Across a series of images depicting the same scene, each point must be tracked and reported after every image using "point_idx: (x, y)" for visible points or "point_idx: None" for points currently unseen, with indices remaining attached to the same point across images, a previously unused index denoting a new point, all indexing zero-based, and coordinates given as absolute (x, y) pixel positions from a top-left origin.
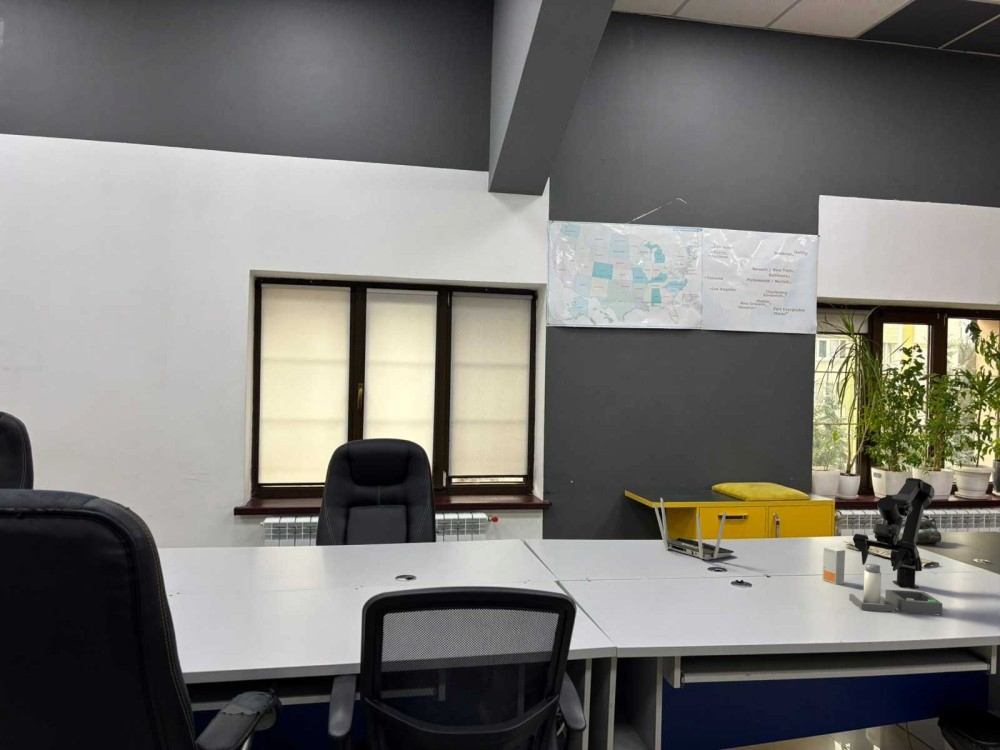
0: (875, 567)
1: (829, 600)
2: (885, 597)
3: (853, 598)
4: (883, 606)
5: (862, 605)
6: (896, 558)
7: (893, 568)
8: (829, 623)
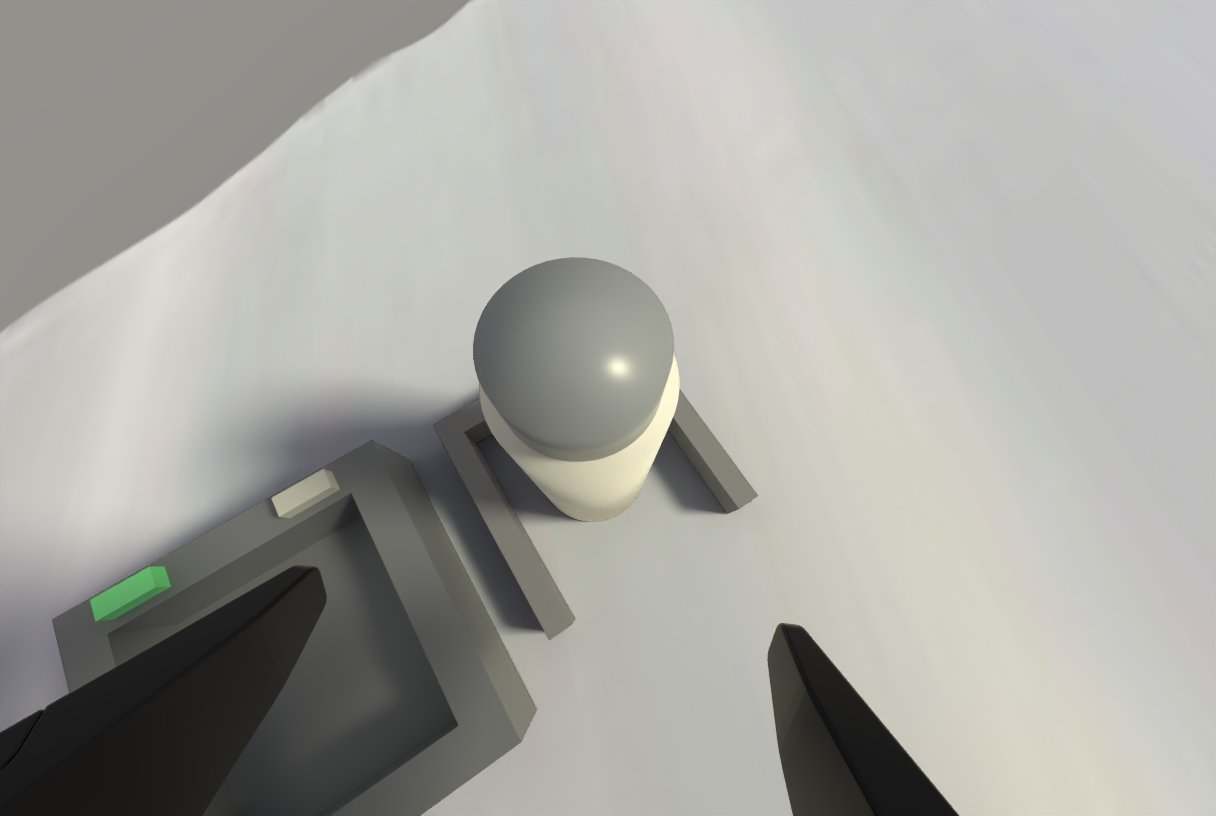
0: (526, 275)
1: (830, 390)
2: (531, 713)
3: (706, 431)
4: None
5: None
6: (58, 762)
7: (296, 570)
8: (683, 51)
